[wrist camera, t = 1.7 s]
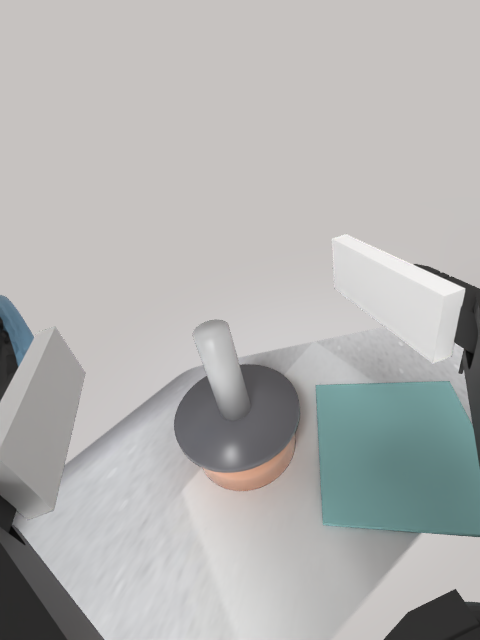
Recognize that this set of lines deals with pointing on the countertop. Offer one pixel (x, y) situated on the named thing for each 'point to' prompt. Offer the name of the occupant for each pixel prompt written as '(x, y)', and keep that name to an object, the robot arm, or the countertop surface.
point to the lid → (234, 408)
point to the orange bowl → (255, 472)
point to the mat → (398, 458)
